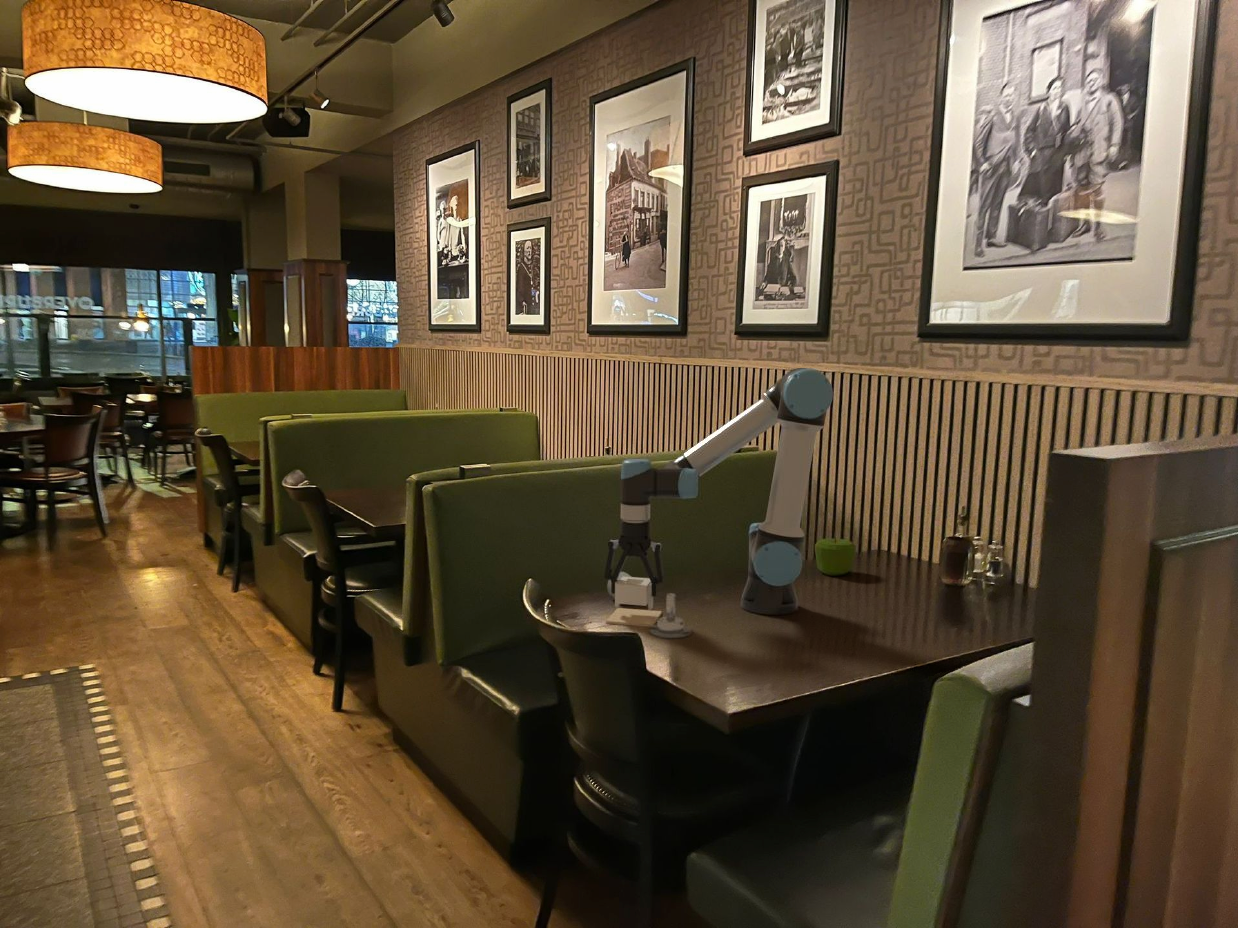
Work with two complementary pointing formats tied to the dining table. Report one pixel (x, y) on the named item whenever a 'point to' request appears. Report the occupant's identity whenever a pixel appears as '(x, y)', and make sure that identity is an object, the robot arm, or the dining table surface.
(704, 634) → the dining table surface
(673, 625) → the stand
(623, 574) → the ceramic mug
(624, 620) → the mat
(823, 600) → the dining table surface
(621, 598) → the white hollow square block
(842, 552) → the apple
